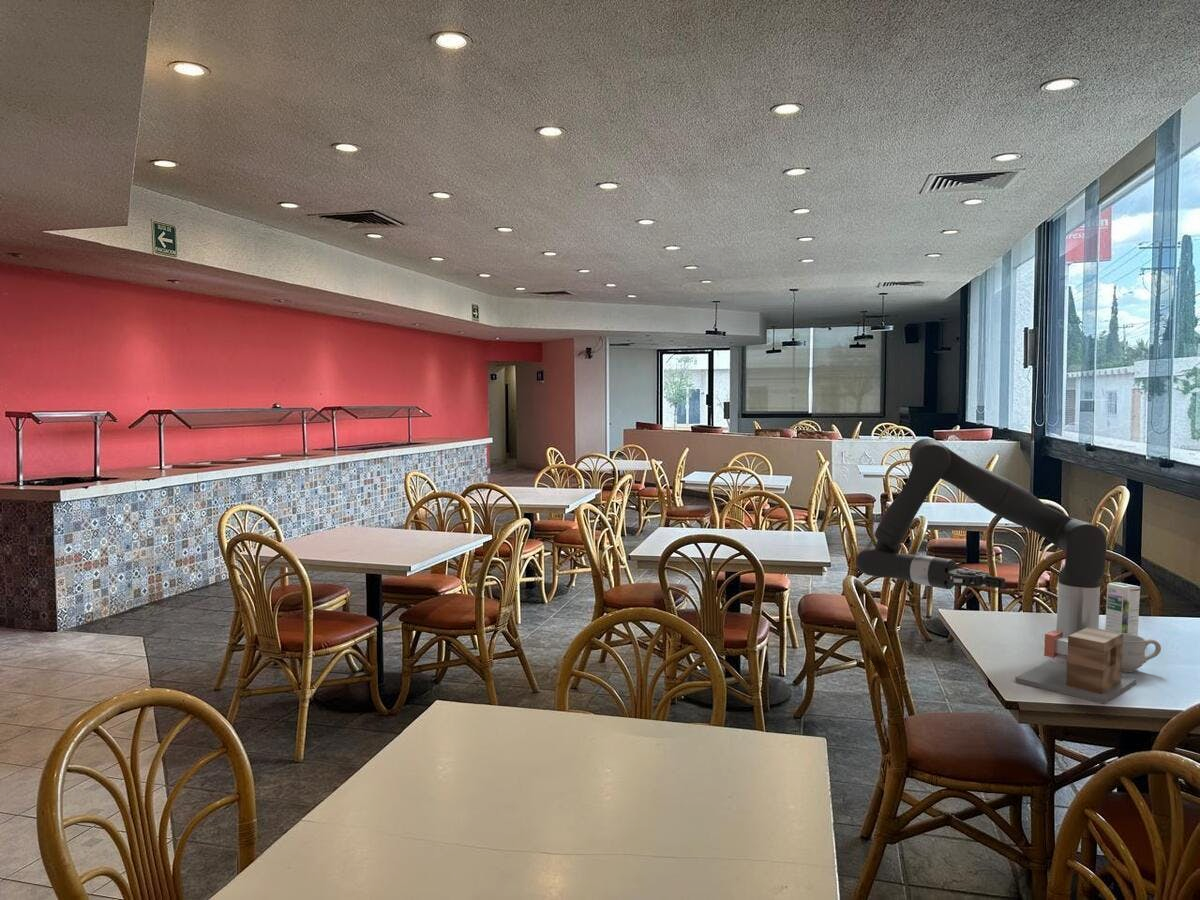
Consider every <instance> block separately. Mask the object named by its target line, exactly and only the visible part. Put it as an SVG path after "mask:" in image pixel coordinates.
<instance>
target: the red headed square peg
mask: <svg viewBox="0 0 1200 900" xmlns="http://www.w3.org/2000/svg"><path fill="white" fill-rule="evenodd" d="M1043 652H1044V653H1043V657H1047V658H1052V659H1055V658H1057V657H1059V656H1060V655H1065V656H1067V655H1068V639H1067V638H1063V632H1060V631H1056V629H1055V630H1054V629H1053V630H1051V631H1049V632H1047V633H1044V650H1043Z"/></svg>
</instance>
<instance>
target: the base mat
mask: <svg viewBox="0 0 1200 900" xmlns="http://www.w3.org/2000/svg"><path fill="white" fill-rule="evenodd" d="M1066 679H1067V663H1065V662H1059V661H1056V660H1051V659H1049V660H1047V661H1045V662H1042V663H1041V664H1040V665H1038V666H1036V667H1033V668H1031V669H1029V670H1027V671H1025V672H1023V673H1021V674H1019V675H1017V676H1015V677H1014V681H1015V682H1016V683H1020V684H1023V685H1026V686H1027V685H1028V686H1031V687H1035V688H1040V689H1043V690H1047V691H1050V690H1052V691H1051V692H1054V691H1056V692H1055V693H1058V692H1061V693H1060V694H1062V693H1065V694H1064V695H1066V694H1069V695H1068V696H1070V695H1073V696H1072V697H1074V696H1077V697H1076V698H1078V697H1081V698H1080V699H1082V698H1085V699H1084V700H1086V699H1089V700H1088V701H1090V700H1093V701H1092V702H1094V701H1096V702H1095V703H1098V702H1100V703H1099V704H1102V703H1103V704H1104V705H1105V704H1107V703H1110V701H1112V700H1113V699H1115V698H1116V697H1118V696H1120V695H1121V694H1122V693H1124V692H1125V691H1127V690H1128V689H1131V688H1132V687H1133V686H1135V685H1136V684H1137V679H1135V678H1132V677H1128V676H1123V675H1121V683H1119V684H1118V685H1116V686H1114V687H1113V688H1111V689H1110V690H1108V691H1106V692H1105V693H1103V694H1099V693H1095V692H1091V691H1087V690H1082V689H1078V688H1074V687H1070V686H1066ZM1015 682H1014V683H1015Z"/></svg>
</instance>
